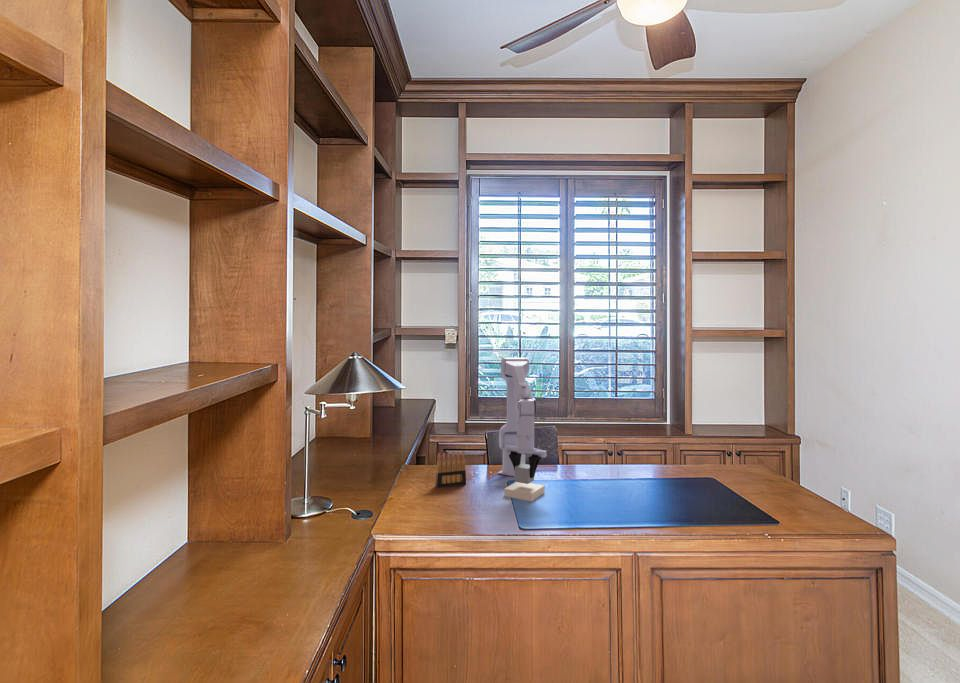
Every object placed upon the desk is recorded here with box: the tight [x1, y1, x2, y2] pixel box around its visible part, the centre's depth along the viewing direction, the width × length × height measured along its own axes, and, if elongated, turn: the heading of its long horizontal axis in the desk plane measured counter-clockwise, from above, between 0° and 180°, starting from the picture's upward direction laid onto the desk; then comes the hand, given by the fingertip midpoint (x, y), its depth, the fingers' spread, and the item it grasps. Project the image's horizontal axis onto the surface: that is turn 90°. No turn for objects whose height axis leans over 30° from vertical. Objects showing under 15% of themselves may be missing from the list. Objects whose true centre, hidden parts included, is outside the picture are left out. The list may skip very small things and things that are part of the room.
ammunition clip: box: [434, 450, 467, 489], centre depth 195 cm, size 11×2×12 cm, turn 112°
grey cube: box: [514, 463, 535, 484], centre depth 186 cm, size 5×5×5 cm
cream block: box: [503, 481, 546, 502], centre depth 186 cm, size 10×10×3 cm
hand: (524, 475), depth 186 cm, fingers closed on grey cube, 5 cm apart
